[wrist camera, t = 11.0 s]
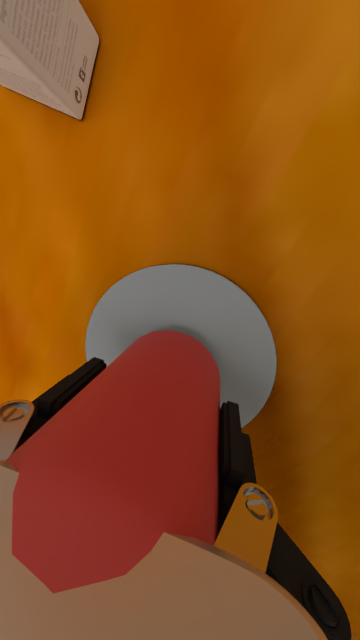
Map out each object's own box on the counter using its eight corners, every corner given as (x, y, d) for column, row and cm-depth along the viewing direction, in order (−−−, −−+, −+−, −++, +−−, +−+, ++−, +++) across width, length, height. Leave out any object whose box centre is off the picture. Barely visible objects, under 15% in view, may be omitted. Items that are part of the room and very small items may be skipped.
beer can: (162, 428, 16) (18, 829, 5) (107, 358, 15) (-214, 631, 4) (240, 389, 14) (312, 918, 3) (181, 307, 13) (-45, 562, 2)
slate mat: (307, 398, 16) (312, 407, 15) (151, 453, 20) (147, 463, 19) (212, 221, 14) (211, 218, 13) (60, 322, 18) (51, 325, 17)
